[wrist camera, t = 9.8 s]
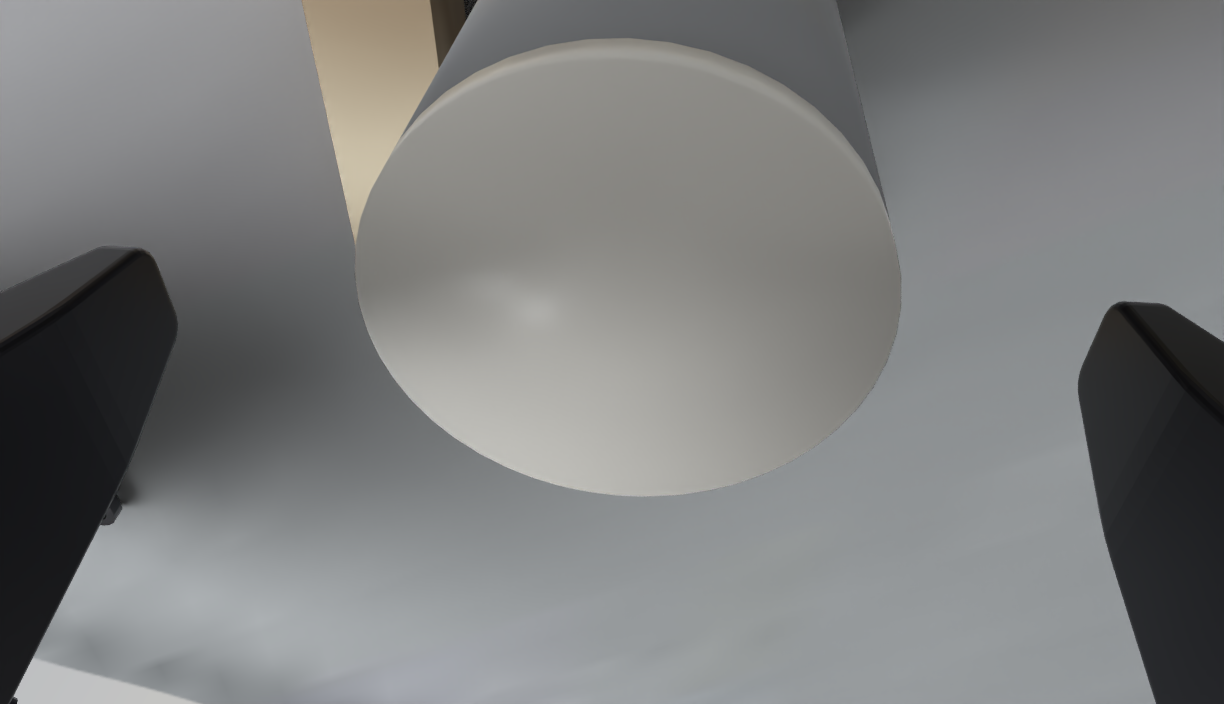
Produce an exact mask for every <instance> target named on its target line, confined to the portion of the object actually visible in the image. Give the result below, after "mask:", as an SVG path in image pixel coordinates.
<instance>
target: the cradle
mask: <svg viewBox="0 0 1224 704" xmlns="http://www.w3.org/2000/svg"><path fill="white" fill-rule="evenodd" d="M302 4H303V9H304V14H305V18H306V23H307V27H308V32H309V36H310V41H311V46H312V50H313V55H314V59H315V64H316V68H317V73H318V77H319V82H320V87H321V91H322V96H323V100H324V105H325V109H326V114H327V119H328V123H329V128H330V132H331V137H332V141H333V146H334V150H335V155H336V160H337V164H338V169H339V173H340V178H341V182H342V187H343V192H344V196H345V201H346V205H347V210H348V214H349V219H350V223H351V228H352V233H353V237H354V242H355V245H356V240H357V234H358V229H359V223H360V218H361V215H362V213H363V210H364V207H365V204H366V202H367V199H368V196H369V194H370V191H371V189H372V187H373V185H374V183H375V182H376V180H377V178H378V176H379V175H380V173H381V171H382V169H383V167H384V166H385V164H386V162H387V160H388V159H389V157H390V155H391V153H392V151H393V150H394V148H395V146H396V144H397V143H398V141H399V139H400V137H401V135H402V134H403V132H404V130H405V128H406V127H407V125H408V123H409V121H410V119H411V118H412V116H413V114H414V112H415V111H416V109H417V107H418V105H419V103H420V102H421V100H422V98H423V96H424V95H425V93H426V91H427V89H428V87H429V86H430V84H431V82H432V80H433V79H434V77H435V75H436V73H437V71H438V70H439V68H440V66H441V64H442V63H443V61H444V59H445V57H446V55H447V54H448V52H449V50H450V48H451V47H452V45H453V43H454V41H455V39H456V38H457V36H458V34H459V32H460V31H461V29H462V27H463V25H464V23H465V22H466V16H465V7H464V0H302Z"/></svg>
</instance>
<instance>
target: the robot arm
mask: <svg viewBox="0 0 1224 704" xmlns="http://www.w3.org/2000/svg"><path fill="white" fill-rule="evenodd" d="M177 331H178V322H177V316H176V312H175V310H174V307H173V305H172V302H171V299H170V297H169V294H168V292H167V289H166V287H165V284H164V282H163V279H162V276H161V274H160V271H159V269H158V266H157V264H156V262H155V260H154V258H153V256H152V255H151V254H150V253H149V252H148V251H146V250H144V249H142V248H135V247H118V246H104V247H99V248H96V249H94V250H92V251H90V252H87V253H85V254H83V255H81V256H79V257H77V258H74V259H72V260H70V261H68V262H66V263H63V264H61V265H59V266H57V267H55V268H52V269H50V270H48V271H46V272H44V273H41V274H39V275H37V276H35V277H33V278H30V279H28V280H26V281H24V282H22V283H20V284H17V285H15V286H13V287H11V288H9V289H6V290H4V291H2V292H0V704H17V701H18V700H17V698H15V697H13V696H14V694H15V692H16V690H17V688H18V686H19V684H20V682H21V680H22V678H23V676H24V674H25V672H26V670H27V668H28V666H29V664H30V662H31V660H32V658H33V656H34V654H35V652H36V650H37V648H38V646H39V644H40V642H41V640H42V639H43V637H44V635H45V633H46V631H47V629H48V627H49V625H50V623H51V621H52V619H53V617H54V615H55V613H56V611H57V609H58V607H59V605H60V603H61V601H62V599H63V597H64V595H65V593H66V591H67V589H68V587H69V585H70V583H71V581H72V579H73V577H74V575H75V573H76V571H77V569H78V567H79V565H80V563H81V561H82V559H83V557H84V555H85V553H86V551H87V549H88V547H89V545H90V543H91V542H92V540H93V538H94V536H95V534H96V532H97V530H98V528H99V526H100V525H110V524H112V523H114V521H115V520H116V518H117V517H118V515H119V514H120V512H121V510H122V505H121V503H120V501H119V499H118V497H117V495H116V492H117V490H118V488H119V486H120V484H121V482H122V480H123V477H124V475H125V473H126V471H127V469H128V467H129V464H130V462H131V459H132V457H133V454H134V452H135V450H136V447H137V445H138V442H139V439H140V436H141V434H142V431H143V428H144V426H145V423H146V420H147V417H148V415H149V412H150V409H151V406H152V404H153V401H154V398H155V396H156V393H157V390H158V387H159V385H160V382H161V379H162V377H163V374H164V371H165V368H166V366H167V363H168V360H169V358H170V355H171V352H172V349H173V347H174V344H175V341H176V337H177ZM1078 395H1079V401H1080V407H1081V413H1082V418H1083V424H1084V429H1085V435H1086V441H1087V446H1088V452H1089V457H1090V463H1091V468H1092V474H1093V480H1094V485H1095V491H1096V496H1097V502H1098V508H1099V513H1100V518H1101V522H1102V527H1103V532H1104V536H1105V540H1106V544H1107V547H1108V551H1109V554H1110V558H1111V561H1112V564H1113V568H1114V571H1115V574H1116V577H1117V580H1118V584H1119V587H1120V590H1121V593H1122V596H1123V600H1124V603H1125V606H1126V609H1127V612H1128V615H1129V619H1130V622H1131V625H1132V628H1133V631H1134V635H1135V638H1136V641H1137V644H1138V647H1139V651H1140V654H1141V657H1142V660H1143V663H1144V667H1145V670H1146V673H1147V676H1148V679H1149V682H1150V686H1151V689H1152V692H1153V695H1154V698H1155V702H1156V704H1224V342H1223V341H1221V340H1220V339H1218V338H1216V337H1215V336H1213V335H1212V334H1210V333H1209V332H1207V331H1206V330H1204V329H1203V328H1201V327H1199V326H1198V325H1196V324H1195V323H1193V322H1192V321H1190V320H1189V319H1187V318H1186V317H1184V316H1182V315H1181V314H1179V313H1178V312H1176V311H1175V310H1173V309H1172V308H1170V307H1168V306H1166V305H1164V304H1160V303H1144V302H1125V301H1122V302H1118V303H1116V304H1114V305H1112V306H1111V307H1110V308H1109V309H1108V311H1107V312H1106V314H1105V316H1104V318H1103V320H1102V322H1101V325H1100V327H1099V329H1098V331H1097V334H1096V336H1095V338H1094V340H1093V343H1092V345H1091V347H1090V349H1089V352H1088V354H1087V356H1086V358H1085V361H1084V363H1083V365H1082V368H1081V371H1080V375H1079V380H1078Z"/></svg>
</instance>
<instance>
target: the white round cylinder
mask: <svg viewBox="0 0 1224 704" xmlns="http://www.w3.org/2000/svg"><path fill="white" fill-rule="evenodd" d="M355 281H356V288H357V295H358V301H359V306H360V309H361V312H362V316H363V319H364V322H365V325H366V329H367V331H368V333H369V336H370V338H371V340H372V342H373V344H374V346H375V348H376V351H377V353H378V355H379V357H380V358H381V360H382V361H383V363H384V364H385V366H386V368H387V369H388V371H389V372H390V374H391V375H392V377H393V378H394V380H395V381H396V382H397V383H398V385H399V386H400V387H401V388H402V390H403V391H404V392H405V393H406V394H407V396H408V397H409V398H410V399H411V400H412V401H413V402H414V403H415V404H416V405H417V406H418V407H419V408H420V409H421V410H422V411H423V412H424V413H425V414H426V415H427V416H428V417H429V418H430V419H431V420H432V421H433V422H435V423H436V424H437V425H439V426H440V427H441V428H442V429H444V430H445V431H446V432H448V433H449V434H450V435H451V436H453V437H454V438H455V439H457V440H458V441H460V442H462V443H463V444H465V445H466V446H468V447H470V448H471V449H473V450H474V451H476V452H478V453H479V454H481V455H483V456H485V457H487V458H489V459H491V460H493V461H495V462H497V463H499V464H501V465H503V466H505V467H507V468H509V469H512V470H514V471H517V472H519V473H522V474H525V475H527V476H530V477H532V478H535V479H538V480H542V481H545V482H549V483H552V484H555V485H559V486H562V487H567V488H572V489H577V490H582V491H587V492H592V493H601V494H609V495H618V496H644V497H653V496H671V495H683V494H690V493H696V492H703V491H709V490H713V489H717V488H722V487H726V486H730V485H734V484H738V483H740V482H743V481H746V480H749V479H752V478H755V477H758V476H761V475H763V474H766V473H768V472H770V471H772V470H774V469H776V468H778V467H781V466H783V465H785V464H787V463H789V462H791V461H793V460H794V459H796V458H798V457H799V456H801V455H802V454H804V453H806V452H807V451H809V450H811V449H812V448H814V447H815V446H817V445H818V444H819V443H820V442H822V441H823V440H824V439H826V438H827V437H828V436H829V435H831V434H832V433H833V432H834V431H836V430H837V429H838V428H839V427H840V426H841V425H842V424H843V423H844V422H845V421H846V420H847V419H848V418H849V417H850V416H851V415H852V414H853V413H854V412H855V411H856V410H857V408H858V407H859V406H860V404H861V403H862V402H863V400H864V399H865V398H866V396H867V395H868V394H869V392H870V391H871V390H872V388H873V387H874V385H875V383H876V381H877V379H878V378H879V376H880V374H881V372H882V370H883V368H884V366H885V365H886V363H887V360H888V357H889V354H890V352H891V349H892V346H893V343H894V340H895V337H896V333H897V328H898V322H899V316H900V310H901V273H900V267H899V261H898V255H897V250H896V245H895V240H894V236H893V232H892V228H891V224H890V220H889V216H888V212H887V207H886V203H885V199H884V195H883V191H882V187H881V183H880V179H879V175H878V170H877V166H876V162H875V158H874V154H873V150H872V146H871V142H870V137H869V133H868V129H867V125H866V121H865V117H864V113H863V109H862V104H861V100H860V96H859V92H858V88H857V84H856V80H855V76H854V72H853V67H852V63H851V59H850V55H849V51H848V47H847V43H846V39H845V34H844V30H843V26H842V22H841V18H840V14H839V10H838V6H837V1H836V0H477V2H476V4H475V6H474V7H473V9H472V11H471V13H470V15H469V16H468V18H467V20H466V22H465V23H464V25H463V27H462V29H461V31H460V32H459V34H458V36H457V38H456V39H455V41H454V43H453V45H452V47H451V48H450V50H449V52H448V54H447V55H446V57H445V59H444V61H443V63H442V64H441V66H440V68H439V70H438V71H437V73H436V75H435V77H434V79H433V80H432V82H431V84H430V86H429V87H428V89H427V91H426V93H425V95H424V96H423V98H422V100H421V102H420V103H419V105H418V107H417V109H416V111H415V112H414V114H413V116H412V118H411V119H410V121H409V123H408V125H407V127H406V128H405V130H404V132H403V134H402V135H401V137H400V139H399V141H398V143H397V144H396V146H395V148H394V150H393V151H392V153H391V155H390V157H389V159H388V160H387V162H386V164H385V166H384V167H383V169H382V171H381V173H380V175H379V176H378V178H377V180H376V182H375V183H374V185H373V187H372V189H371V191H370V194H369V196H368V199H367V202H366V204H365V207H364V210H363V213H362V215H361V218H360V223H359V229H358V234H357V240H356V245H355Z"/></svg>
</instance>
